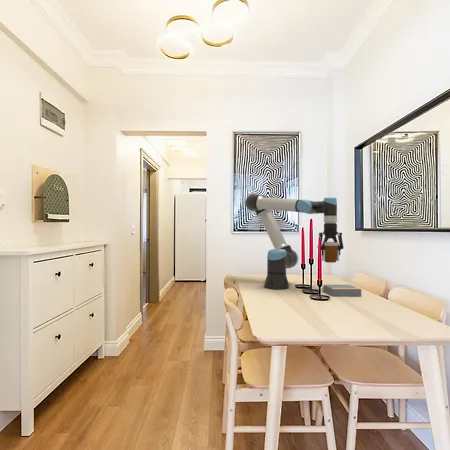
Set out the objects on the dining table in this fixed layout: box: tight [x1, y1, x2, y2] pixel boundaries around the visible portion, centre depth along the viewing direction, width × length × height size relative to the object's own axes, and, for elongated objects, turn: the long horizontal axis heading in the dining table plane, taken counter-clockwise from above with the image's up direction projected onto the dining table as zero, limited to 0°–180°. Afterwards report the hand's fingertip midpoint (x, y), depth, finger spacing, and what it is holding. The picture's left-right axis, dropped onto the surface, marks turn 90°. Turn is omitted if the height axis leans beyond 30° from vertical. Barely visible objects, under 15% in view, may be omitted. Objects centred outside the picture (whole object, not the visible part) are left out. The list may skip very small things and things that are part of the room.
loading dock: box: [322, 284, 362, 297], centre depth 186 cm, size 16×14×4 cm
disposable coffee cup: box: [322, 241, 340, 264], centre depth 198 cm, size 10×10×12 cm
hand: (330, 260), depth 198 cm, fingers closed on disposable coffee cup, 8 cm apart
